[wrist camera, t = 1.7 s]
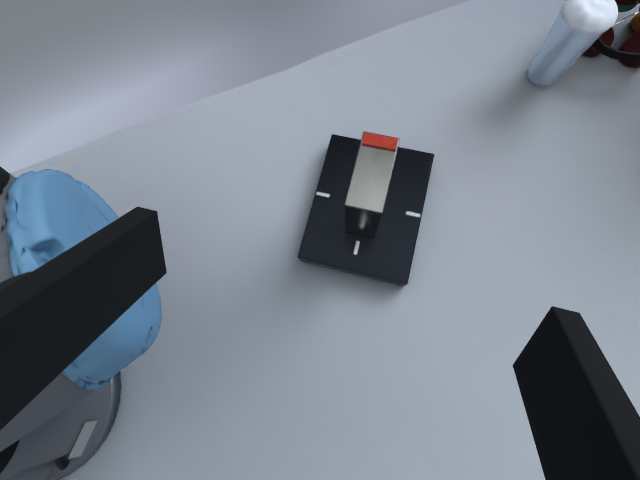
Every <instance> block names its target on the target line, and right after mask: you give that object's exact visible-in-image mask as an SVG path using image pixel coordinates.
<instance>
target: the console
mask: <svg viewBox="0 0 640 480" xmlns="http://www.w3.org/2000/svg"><path fill="white" fill-rule="evenodd" d="M360 143H361V140H359V139H354V138H348V137H343V136H338V135H333V134H332V136H331V140H330V143H329V147H328V150H327V154H326V158H325V161H324V165H323V168H322V172H321V175H320V179H319V183H318V186H317V190H316V193H315V197H314V200H313V204H312V208H311V211H310V215H309V218H308V222H307V225H306V229H305V233H304V236H303V240H302V243H301V247H300V250H299V254H298V258H299V260H300V261H303V262H307V263H311V264H315V265H319V266H323V267H327V268H331V269H335V270H339V271H343V272H347V273H351V274H355V275H359V276H363V277H367V278H371V279H375V280H379V281H383V282H387V283H391V284H395V285H399V286H403V287H404V286H405V285H407V283H408V278H409V274H410V269H411V264H412V259H413V254H414V250H415V245H416V240H417V235H418V230H419V225H420V221H421V216H422V211H423V206H424V201H425V197H426V192H427V187H428V182H429V177H430V173H431V168H432V163H433V158H434V154H431V153H426V152H421V151H415V150H410V149H405V148H400V147H398V149H397V153H396V158H395V162H394V166H393V171H392V175H391V179H390V183H389V188H388V192H387V196H386V201H385V205H384V209H383V213H382V216H381V220H380V223H379V226H378V229H377V232H376V236H375V238H373V237H369V236H365V235H360V234H356V233H352V232H347V231H346V230H345V201H346V197H347V193H348V189H349V185H350V181H351V178H352V174H353V170H354V166H355V162H356V158H357V154H358V151H359V147H360Z"/></svg>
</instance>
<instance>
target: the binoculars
mask: <svg viewBox="0 0 640 480" xmlns="http://www.w3.org/2000/svg"><path fill="white" fill-rule="evenodd" d="M615 2H616V4H617V7H618V12H626V11H629V10H631V9H632V8H634V7H635V6H636V5H637V4H638V3H640V0H615ZM639 11H640V7H639ZM631 26H632V28H633V30H634V31H635V32H636V33H634V34H633V35H631V36H630V37H629V38H628V39H627V40H626V41H625V42H624V44H623V45H622V46H621V47H620V49H619V51H618V50H616V49H613V48H611V47H609V46H610V45H611V44H612V42H613V39H614V32H613V28H612V27H611V28H609V29H608V30H607V31H606V32H605V33H604V34H603V35H602V36H601V37H600V38H599V39H598V40H597V41H596V42H595V43H594V44H593V45H591V46H590V47H589V48H588V49H587V50H586V51H585V52H584V53H583V55H585V56H589V57H592V56H596V55H599V54H600V53H601V54H603V55H605V56H608V57H610V58H613V59H619V60H620V62H621V63H622V64H624V65H626V66H630V67H637V66H640V12H639V13H638V14H637V15H636V16H635V17H634V18H633V19H632V20H631Z"/></svg>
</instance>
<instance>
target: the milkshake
mask: <svg viewBox="0 0 640 480" xmlns="http://www.w3.org/2000/svg"><path fill="white" fill-rule="evenodd" d="M636 13H637V12H636ZM636 13H634V14H632V15H630V16H628V17H626V18H625V19H623V20H621V21H619V22H617V23H615V21H616V19H617V17H618V7H617V4H616V2H615V0H567V1H566V3H565V4H564V6H563V8H562V10H561V12H560V13H559V15H558V17H557V19H556V21H555V23H554V24H553V26H552V28H551V30H550V32H549V34H548V36H547V38H546V40H545V41H544V43H543V45H542V46H541V48H540V50H539V52H538V53H537V55H536V57H535V58H534V60H533V62H532V63H531V65H530V67H529V68H528V70H527V75H528V79H529V80H530V81H531V82H532V83H533V84H535V85H538V86H544V87H545V86H547V85H550V84H553V83H554V82H555V81H556V80H557V79H558V78H559V77H560V76H561V75H562V74H563V73H564V72H565V71H566V70H567V69H568V68H569V67H570V66H571V65H572V64H573V63H574V62H575V61H576V60H577V59H578V58H579V57H580V56H581V55H582V54H583V53H584V52H585V51H586V50H587V49H588V48H589V47H590V46H591V45H593V44H594V43H595V42H596V41H597V40H598V39H599V38H600V37H601V36H602V35H603V34H604V33H605V32H606V31H607V30H608V29H609V28H611V27H612V26H614V25H616V24H618V23H620V22H622V21H624V20H626V19H628V18H630V17H631V16H633V15H635V14H636ZM614 23H615V24H614Z"/></svg>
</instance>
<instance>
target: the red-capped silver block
mask: <svg viewBox="0 0 640 480" xmlns="http://www.w3.org/2000/svg"><path fill="white" fill-rule="evenodd" d="M399 140H400V139H399V138H395V137H390V136H384V135H379V134H374V133H369V132H363V135H362V139H361V143H360V147H359V151H358V154H357V158H356V162H355V166H354V170H353V174H352V178H351V181H350V185H349V189H348V193H347V197H346V201H345V230H346V231H347V232H352V233H356V234H360V235H365V236H369V237H373V238H375V236H376V232H377V229H378V226H379V223H380V220H381V216H382V213H383V209H384V205H385V201H386V196H387V192H388V188H389V183H390V179H391V175H392V171H393V166H394V162H395V158H396V153H397V149H398V145H399Z"/></svg>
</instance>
